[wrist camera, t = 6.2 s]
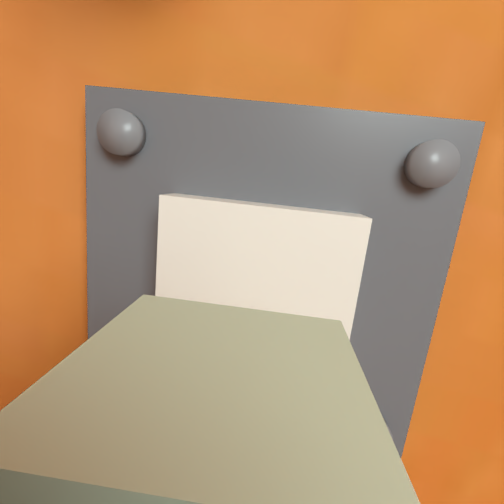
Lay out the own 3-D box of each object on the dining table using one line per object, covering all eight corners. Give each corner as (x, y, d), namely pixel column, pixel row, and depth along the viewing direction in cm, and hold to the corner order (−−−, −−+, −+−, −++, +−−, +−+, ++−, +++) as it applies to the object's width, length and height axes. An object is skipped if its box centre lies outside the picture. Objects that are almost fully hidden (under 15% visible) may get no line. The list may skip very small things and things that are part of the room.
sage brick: (311, 485, 9) (347, 844, 4) (138, 456, 9) (-19, 759, 4) (340, 320, 8) (438, 544, 3) (143, 294, 8) (-58, 457, 3)
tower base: (390, 443, 19) (413, 500, 16) (102, 398, 20) (66, 442, 17) (465, 127, 15) (518, 111, 12) (102, 93, 16) (56, 70, 13)
